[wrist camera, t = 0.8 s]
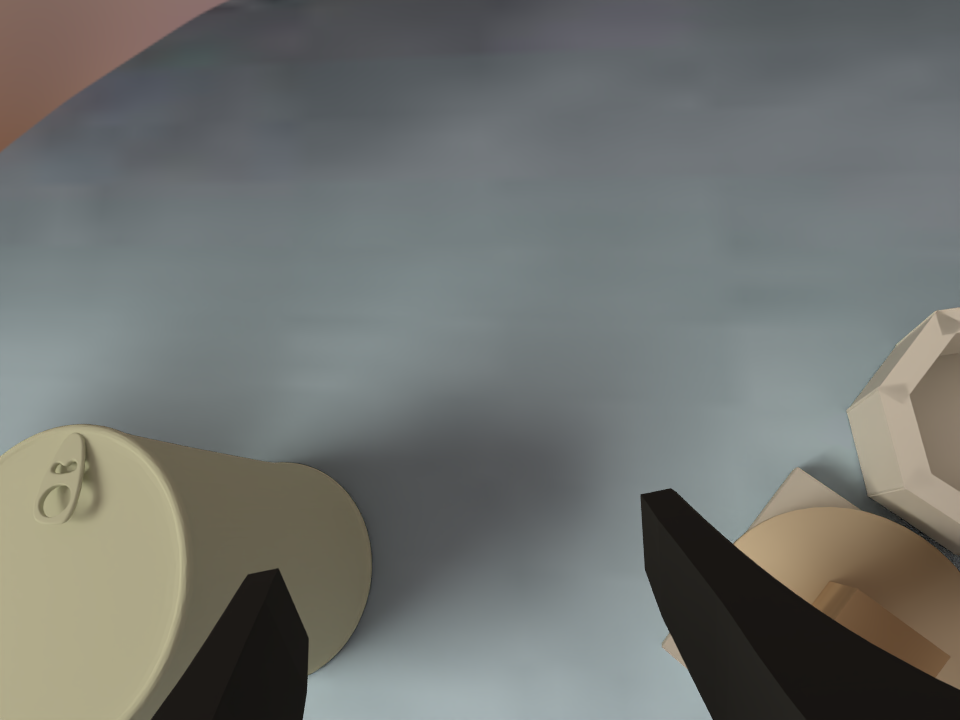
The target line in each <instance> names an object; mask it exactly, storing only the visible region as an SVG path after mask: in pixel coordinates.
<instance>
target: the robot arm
mask: <svg viewBox="0 0 960 720" xmlns="http://www.w3.org/2000/svg"><path fill="white" fill-rule="evenodd" d="M641 512H642V529H643V545H644V562H645V571H646V574H647V576H648V579H649V582H650V585H651V588H652V590H653V593H654V596H655V599H656V602H657V604H658V607H659V610H660V612H661V615H662V618H663V620H664V622H665V624H666V626H667V628H668V630H669V632H670V634H671V636H672V638H673V640H674V642H675V644H676V646H677V648H678V650H679V653H680V655H681V657H682V659H683V661H684V663H685V665H686V667H687V669H688V671H689V673H690V675H691V677H692V679H693V681H694V683H695V685H696V687H697V689H698V691H699V693H700V695H701V697H702V699H703V701H704V703H705V705H706V707H707V709H708V711H709V713H710V715H711V717H712V719H713V720H960V690H959V689H957V688H955V687H953V686H951V685H949V684H947V683H945V682H943V681H941V680H939V679H937V678H935V677H933V676H931V675H929V674H927V673H925V672H923V671H921V670H920V669H918V668H916V667H914V666H912V665H910V664H909V663H907V662H905V661H903V660H901V659H899V658H898V657H896V656H894V655H892V654H890V653H888V652H887V651H885V650H883V649H881V648H879V647H877V646H876V645H874V644H872V643H871V642H869V641H867V640H866V639H864V638H862V637H861V636H859V635H857V634H856V633H854V632H852V631H851V630H849V629H848V628H846V627H844V626H843V625H841V624H840V623H838V622H837V621H835V620H834V619H832V618H831V617H829V616H827V615H826V614H824V613H823V612H821V611H820V610H818V609H817V608H815V607H814V606H813V605H811V604H810V603H808V602H807V601H805V600H804V599H803V598H801V597H800V596H798V595H797V594H796V593H794V592H793V591H792V590H790V589H789V588H788V587H786V586H785V585H784V584H782V583H781V582H779V581H778V580H777V579H775V578H774V577H773V576H772V575H770V574H769V573H768V572H766V571H765V570H764V569H763V568H761V567H760V566H759V565H758V564H756V563H755V562H754V561H753V560H752V559H750V558H749V557H748V556H747V555H746V554H744V553H743V552H742V551H741V550H739V549H738V548H737V547H736V546H735V545H733V544H732V543H731V542H730V541H729V540H728V539H726V538H725V537H724V536H723V535H722V534H721V533H720V532H719V531H717V530H716V529H715V528H714V527H713V526H712V525H711V524H710V523H709V522H707V521H706V520H705V519H704V518H703V517H702V516H701V515H700V514H699V513H698V512H697V511H696V510H694V509H693V508H692V507H691V506H690V505H689V504H688V503H687V502H686V501H685V500H684V499H683V498H682V497H681V496H680V495H679V494H678V493H677V492H676V491H674V490H672V489H671V488H670V489H665V490H661V491H656V492H651V493H646V494H641ZM308 652H309V637H308V635H307V632H306V630H305V628H304V625H303V623H302V621H301V619H300V616H299V614H298V612H297V609H296V607H295V605H294V602H293V600H292V598H291V595H290V593H289V591H288V588H287V586H286V584H285V582H284V579H283V577H282V575H281V572H280V570H279V568H276V569H272V570H267V571H262V572H257V573H252V574H248V575H247V576H246V578H245V579H244V581H243V582H242V584H241V585H240V587H239V588H238V590H237V591H236V593H235V595H234V596H233V598H232V599H231V601H230V603H229V604H228V606H227V607H226V609H225V611H224V612H223V614H222V615H221V617H220V618H219V620H218V622H217V623H216V625H215V626H214V628H213V630H212V631H211V633H210V634H209V636H208V637H207V639H206V640H205V642H204V643H203V645H202V647H201V648H200V650H199V651H198V653H197V654H196V656H195V657H194V659H193V660H192V662H191V663H190V665H189V666H188V668H187V669H186V671H185V672H184V674H183V675H182V677H181V678H180V679H179V681H178V682H177V684H176V685H175V687H174V688H173V689H172V691H171V692H170V694H169V695H168V696H167V698H166V699H165V700H164V702H163V703H162V705H161V706H160V707H159V709H158V710H157V711H156V713H155V714H154V716H153V717H152V718H151V720H303V714H304V707H305V701H306V694H307V679H308Z"/></svg>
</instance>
